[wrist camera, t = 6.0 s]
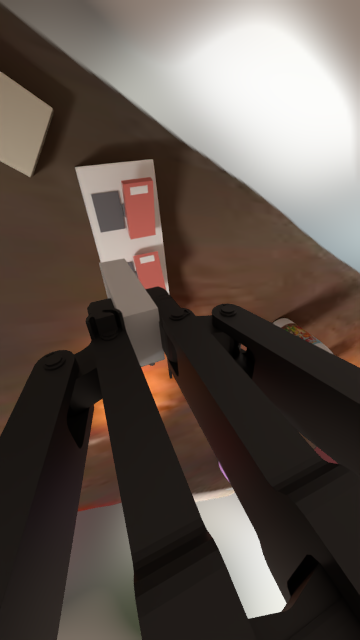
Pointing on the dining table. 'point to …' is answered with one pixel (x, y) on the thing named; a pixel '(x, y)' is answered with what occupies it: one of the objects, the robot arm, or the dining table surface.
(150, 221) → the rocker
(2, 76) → the electrical outlet
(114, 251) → the power strip
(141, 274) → the rocker
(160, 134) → the dining table surface
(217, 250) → the dining table surface
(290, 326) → the milk bottle
